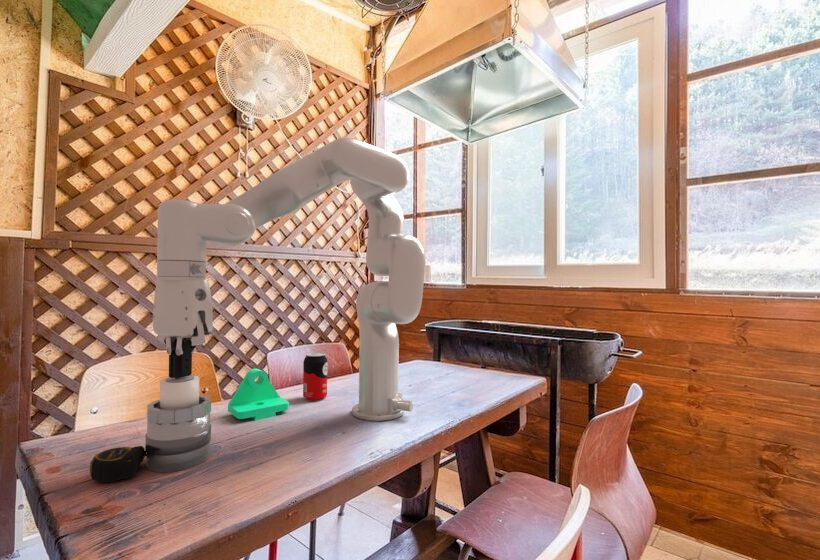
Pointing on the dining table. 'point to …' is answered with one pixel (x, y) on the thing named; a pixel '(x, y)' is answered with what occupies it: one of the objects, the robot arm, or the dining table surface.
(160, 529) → the dining table surface
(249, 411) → the camera mount
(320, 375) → the beverage can
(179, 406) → the cap
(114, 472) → the tape measure
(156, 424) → the grey hollow cylinder
